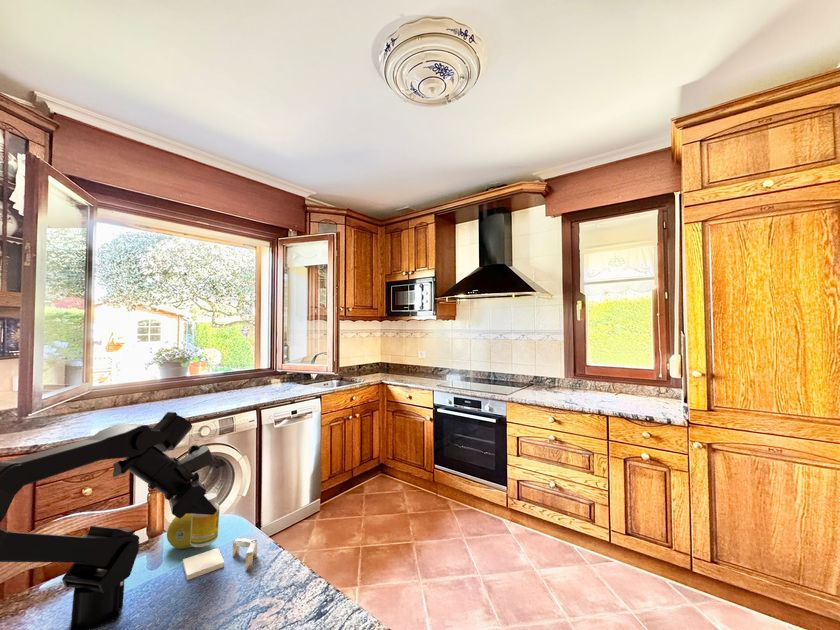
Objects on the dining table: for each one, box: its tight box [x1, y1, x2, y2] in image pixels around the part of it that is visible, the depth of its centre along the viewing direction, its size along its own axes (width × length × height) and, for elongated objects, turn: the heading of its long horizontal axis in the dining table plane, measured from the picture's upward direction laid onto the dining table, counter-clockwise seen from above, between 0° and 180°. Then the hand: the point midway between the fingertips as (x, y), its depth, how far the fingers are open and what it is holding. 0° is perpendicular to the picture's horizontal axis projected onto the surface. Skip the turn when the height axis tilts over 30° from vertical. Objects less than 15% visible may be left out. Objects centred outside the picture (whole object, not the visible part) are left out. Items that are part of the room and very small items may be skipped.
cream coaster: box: [182, 547, 225, 581], centre depth 78 cm, size 7×7×1 cm
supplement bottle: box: [190, 492, 220, 548], centre depth 79 cm, size 5×5×10 cm
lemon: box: [166, 514, 193, 550], centre depth 86 cm, size 11×8×8 cm
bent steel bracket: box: [231, 537, 258, 572], centre depth 80 cm, size 4×9×4 cm, turn 40°
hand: (213, 507), depth 80 cm, fingers closed on supplement bottle, 5 cm apart
